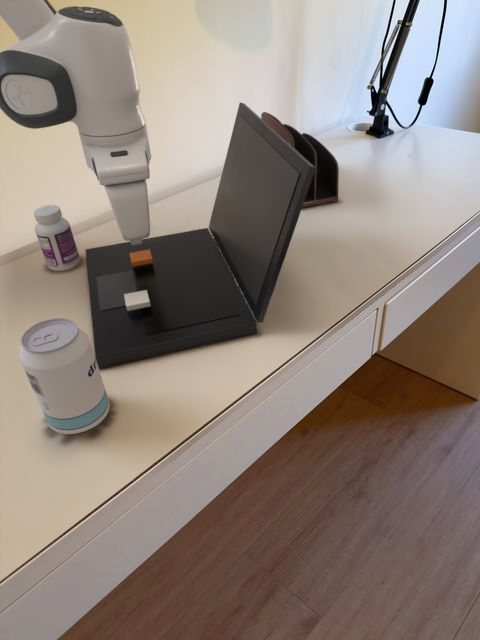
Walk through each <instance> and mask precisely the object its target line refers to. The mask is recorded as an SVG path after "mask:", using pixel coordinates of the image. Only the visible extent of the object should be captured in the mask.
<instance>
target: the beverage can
mask: <svg viewBox="0 0 480 640" xmlns="http://www.w3.org/2000/svg"><path fill="white" fill-rule="evenodd" d="M20 343H21V347H20V349H19V360H20V363H21V365H22V368H23V370H24V372H25V374H26V376H27V379H28V382H29V384H30V386H31V388H32V390H33V393H34V395H35V397H36V400H37V403H38V404H39V406H40V409H41V411H42V413H43V416H44V418H45V420H46V422H47V424H48V426H49V428H50V429H51V430H53V431H54V432H57V433H59V434H64V435H76V434H81V433H84V432H86V431H89V430H91V429H93V428H95V427H96V426H97V425H99V424H100V423H102V422H103V420H104V419H105V418H107V417H106V416H107V415H108V413H109V411H110V408H111V407H110V404H111V403H110V400H109V396H108V393H107V391H106V387H105V383H104V381H103V377H102V375H101V372H100V369H99V367H98V364H97V361H96V358H95V352H94V349H93V347H92V344H91V341H90V338H89V335H88V334H87V333H86V332H85V331H84V330H83V329H81V328H80V327H79V326H78V324H77V323H76V322H75V321H74V320H72V319H69V318H65V317H55V318H54V317H53V318H49V319H44V320H42V321H39V322H37V323H35V324H33V325H31V326H30V327H28V328H27V329H26V330H25V331H24V332H23V334H22V336H21V337H20Z"/></svg>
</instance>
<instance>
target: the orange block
mask: <svg viewBox="0 0 480 640" xmlns="http://www.w3.org/2000/svg"><path fill="white" fill-rule="evenodd" d="M129 254H130V258H131V262H132V266H133V267H134V266H139V265H144V264H150V263H153V259H152V256H151V252H150V249H149V250H143V251H138V252H132V253H129Z"/></svg>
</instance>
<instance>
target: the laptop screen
mask: <svg viewBox="0 0 480 640" xmlns="http://www.w3.org/2000/svg"><path fill="white" fill-rule="evenodd" d="M315 169H316V167H314V166H313V165H312V164H311V163H310V162H309V161H308V160H307V159H305V158H304V157H303V156H302V155H301V154H300V153H299V152H298V151H297V150H295V149H294V148H293V147H292V146H291V145H290V144H289V143H288V142H287V141H285V140H284V139H283V138H282V137H281V136H280V135H279V134H278V133H277V132H275V131H274V130H273V129H272V128H271V127H270V126H269V125H268V124H267V123H265V122H264V121H263V120H262V119H261V116H259V115H258V114H257V113H255V112H254V110H252V109H251V108H250V107H249V106H248V105H247V104H246V103H244V102H239V104H238V108H237V111H236V116H235V120H234V124H233V128H232V132H231V135H230V140H229V144H228V148H227V151H226V156H225V160H224V163H223V168H222V171H221V176H220V180H219V184H218V188H217V192H216V196H215V200H214V203H213V207H212V212H211V214H210V215H211V216H210V219H209V224H208V227H207V228H208V230H209V231H210V233H211V235H212V237H213V239H214V241H215V243H216V245H217V247H218V249H219V251H220V253H221V255H222V257H223V259H224V261H225V262H226V264H227V266H228V268H229V270H230V272H231V274H232V276H233V278H234V280H235V282H236V284H237V286H238V288H239V290H240V292H241V293H242V295H243V297H244V299H245V301H246V303H247V305H248V307H249V309H250V311H251V313H252V315H253V317H254V319H255V321H256V323H264V320H265V317H266V314H267V311H268V308H269V305H270V302H271V300H272V297H273V294H274V290H275V288H276V285H277V282H278V279H279V276H280V273H281V271H282V267H283V264H284V261H285V259H286V255H287V253H288V250H289V247H290V244H291V241H292V238H293V235H294V233H295V229H296V226H297V223H298V221H299V218H300V215H301V212H302V209H303V208H304V207H303V204H304V201H305V198H306V195H307V192H308V189H309V186H310V183H311V180H312V177H313V175H314V172H315ZM302 207H303V208H302Z"/></svg>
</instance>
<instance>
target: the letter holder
mask: <svg viewBox="0 0 480 640" xmlns="http://www.w3.org/2000/svg"><path fill="white" fill-rule="evenodd" d="M260 118H261V119H262V120H263V121H264V122H265V123H267V124H268V125H269V126H270V127H271V128H272V129H273V130H274V131H275V132H277V133H278V134H279V135H280V136H281V137H282V138H283V139H284V140H285V141H287V142H288V143H289V144H290V145H291V146H292V147H293V148H294V149H295V150H297V151H298V152H299V153H300V154H301V155H302V156H303V157H304V158H305V159H307V160H308V161H309V162H310V163H311V164H312V165H313V166H314V167H316V169H315V172H314V175H313V177H312V180H311V183H310V186H309V189H308V192H307V195H306V198H305V201H304V204H303V207H302V209H303V208H309V207H315V206H321V205H325V204H332V203H337V202H338V201H339V179H340V178H339V173H340V172H339V171H340V169H339V162H338V160H337V159H336V157H335V156H334V154H332V152H330V150H329V149H328V148H327V147H326V146H325V145H324V144H323V143H321V142H320V141H319V140H318V139H317V138H315V137H314V136H312V135H311V134H309V133H306V132H303V133H301V132H299V130H297V128H295V127H293V126H291V125H289V124H286V123H282V121H280V120H279V118H277V117H276V116H275V115H273V114H271V113H269V112H266V111H263V112H261V115H260Z"/></svg>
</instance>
